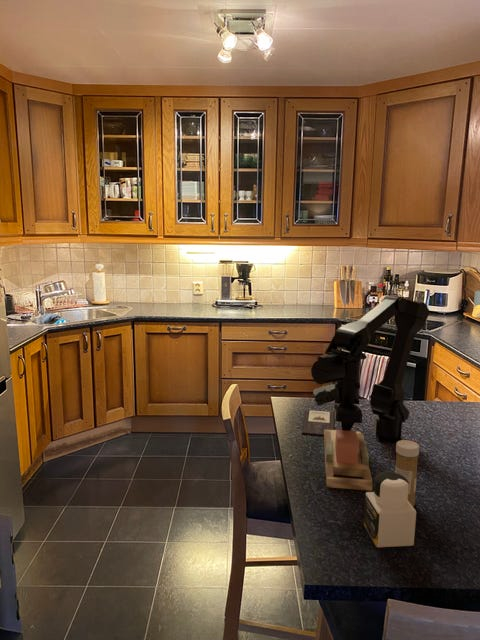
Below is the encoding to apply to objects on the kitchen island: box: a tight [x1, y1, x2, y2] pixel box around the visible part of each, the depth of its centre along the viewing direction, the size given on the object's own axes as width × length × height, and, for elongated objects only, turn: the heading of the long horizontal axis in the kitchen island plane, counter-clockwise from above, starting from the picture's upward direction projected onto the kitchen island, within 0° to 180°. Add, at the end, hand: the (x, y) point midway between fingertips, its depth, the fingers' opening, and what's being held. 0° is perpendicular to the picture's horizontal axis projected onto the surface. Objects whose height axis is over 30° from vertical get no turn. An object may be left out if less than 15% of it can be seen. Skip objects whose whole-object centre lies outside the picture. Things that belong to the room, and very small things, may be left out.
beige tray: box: [323, 429, 374, 492], centre depth 120 cm, size 10×28×4 cm, turn 171°
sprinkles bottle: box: [394, 439, 420, 507], centre depth 100 cm, size 5×5×14 cm
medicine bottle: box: [363, 471, 417, 548], centre depth 89 cm, size 7×7×12 cm
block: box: [335, 429, 359, 464], centre depth 118 cm, size 5×8×5 cm, turn 171°
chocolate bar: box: [301, 409, 335, 437], centre depth 144 cm, size 9×1×18 cm
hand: (344, 435), depth 123 cm, fingers closed
